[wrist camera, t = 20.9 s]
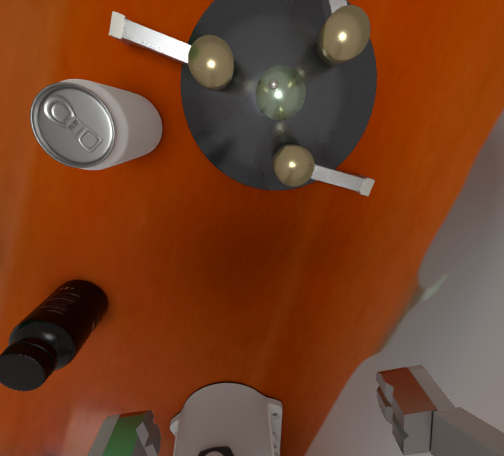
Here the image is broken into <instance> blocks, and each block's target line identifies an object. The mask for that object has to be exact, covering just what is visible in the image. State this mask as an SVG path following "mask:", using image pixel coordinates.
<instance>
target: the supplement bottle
mask: <svg viewBox="0 0 504 456" xmlns="http://www.w3.org/2000/svg"><path fill="white" fill-rule="evenodd" d="M106 309H107V301H106V298H105V296H104V294H103V292H102V291H101V290H100V289H99V288H98V287H96V286H95V285H93V284H91V283H88V282H85V281H70V282H67V283H65V284H63V285H61V286H60V287H59V288H58V289H56V290H55V291H54V292H53V293H52V294H51V295H50V296H49V297H47V298H46V299H45V300H44V301H43V302H42V303H41V304H40V305H39V306H38V307H36V308H35V309H34V310H33V311H32V312H31V313H30V314H29V315H28V316H26V317H25V318H24V319H23V320H22V321H21V322H20V323H19V324H18V325H17V326H16V327H15V328H14V329H13V331H12V332H11V334H10V337H9V346H8V347H7V348H6V349H5V350H4V352H3V353H2V354H1V355H0V383H2V384H3V385H4V386H7V387H8V388H11V389H13V390H18V391H30V390H34V389H37V388H38V387H40V386H41V385H42V384H43V383H44V382H45V381H46V379H47V378H48V377H49V376H50V375H51V374H52V372H53V371H55V370H58V369H60V368H63V367H64V366H66V365H68V364H69V363H70V362H71V361H72V360H73V359H74V357H75V356H76V355H77V353H78V352H79V350H80V349H81V348H82V346H83V345H84V343H85V342H86V340H87V339H88V338H89V336H90V335H91V333H92V332H93V331H94V329H95V328H96V326H97V325H98V323H99V322H100V321H101V319H102V317H103V316H104V314H105V312H106Z"/></svg>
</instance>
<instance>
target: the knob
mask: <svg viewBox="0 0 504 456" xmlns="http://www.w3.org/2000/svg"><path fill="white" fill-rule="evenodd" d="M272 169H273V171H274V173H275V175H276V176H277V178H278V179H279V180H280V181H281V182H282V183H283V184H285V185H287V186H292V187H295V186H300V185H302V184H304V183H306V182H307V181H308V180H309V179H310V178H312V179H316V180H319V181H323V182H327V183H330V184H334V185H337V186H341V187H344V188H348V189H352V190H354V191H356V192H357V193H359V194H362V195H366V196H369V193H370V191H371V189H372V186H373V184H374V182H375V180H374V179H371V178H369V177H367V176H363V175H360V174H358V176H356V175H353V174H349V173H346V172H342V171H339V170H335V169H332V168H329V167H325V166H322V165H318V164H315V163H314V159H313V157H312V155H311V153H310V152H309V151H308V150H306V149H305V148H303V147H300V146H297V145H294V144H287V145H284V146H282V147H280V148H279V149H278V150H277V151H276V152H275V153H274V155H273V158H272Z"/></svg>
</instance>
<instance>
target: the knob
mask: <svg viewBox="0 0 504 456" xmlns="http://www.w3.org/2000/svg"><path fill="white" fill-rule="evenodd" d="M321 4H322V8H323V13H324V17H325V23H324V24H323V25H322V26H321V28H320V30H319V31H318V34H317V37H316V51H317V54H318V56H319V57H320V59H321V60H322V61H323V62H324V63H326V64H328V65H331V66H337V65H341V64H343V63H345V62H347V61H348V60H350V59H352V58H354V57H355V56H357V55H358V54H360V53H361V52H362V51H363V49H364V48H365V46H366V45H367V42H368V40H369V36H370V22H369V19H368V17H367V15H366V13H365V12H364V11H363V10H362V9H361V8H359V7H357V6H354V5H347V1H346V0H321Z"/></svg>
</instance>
